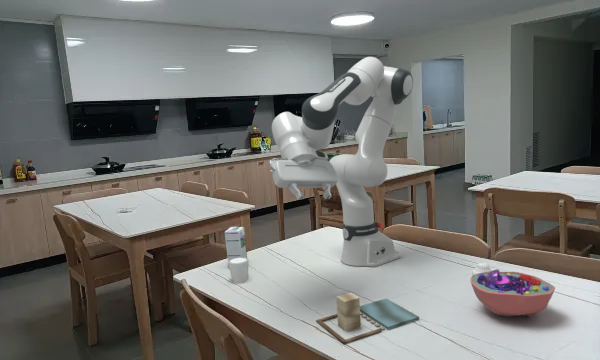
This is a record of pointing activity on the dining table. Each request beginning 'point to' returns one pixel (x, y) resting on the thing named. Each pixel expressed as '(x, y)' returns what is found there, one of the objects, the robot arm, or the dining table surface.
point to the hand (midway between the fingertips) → (314, 198)
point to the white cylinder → (238, 269)
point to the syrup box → (235, 243)
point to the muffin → (481, 268)
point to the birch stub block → (348, 312)
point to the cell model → (512, 292)
